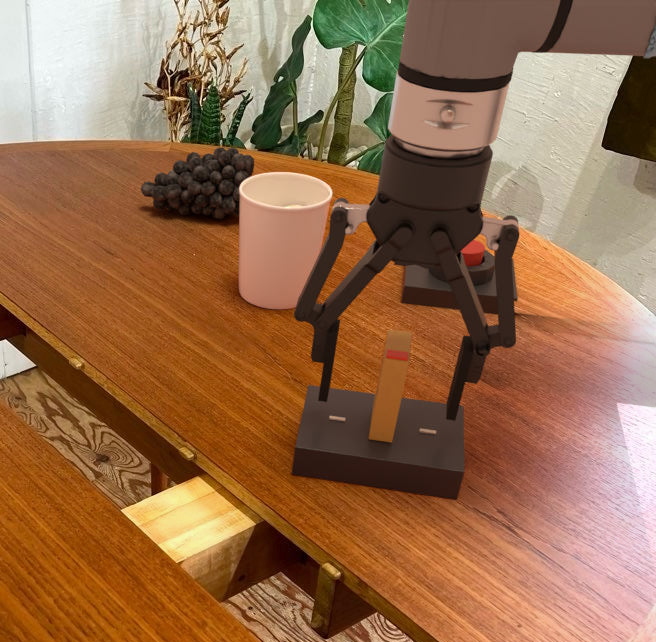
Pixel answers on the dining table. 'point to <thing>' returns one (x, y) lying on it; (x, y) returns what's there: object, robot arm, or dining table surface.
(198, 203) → the fruit
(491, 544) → the dining table surface
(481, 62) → the robot arm
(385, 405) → the tan upright plank
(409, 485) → the dark lever base block
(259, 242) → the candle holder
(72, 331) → the dining table surface
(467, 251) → the bell button
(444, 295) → the bell block
